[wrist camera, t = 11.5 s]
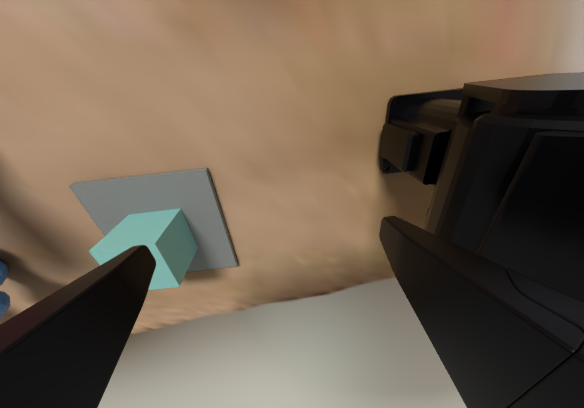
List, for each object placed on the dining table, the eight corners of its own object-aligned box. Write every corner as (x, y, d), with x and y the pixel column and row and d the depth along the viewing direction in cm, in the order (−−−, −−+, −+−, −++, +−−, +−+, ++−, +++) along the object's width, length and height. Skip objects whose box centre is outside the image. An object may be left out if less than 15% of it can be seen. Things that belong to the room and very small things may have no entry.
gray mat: (207, 167, 19) (205, 170, 18) (237, 262, 25) (237, 266, 24) (74, 182, 19) (68, 185, 18) (137, 273, 25) (134, 278, 24)
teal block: (180, 208, 20) (154, 243, 16) (197, 247, 23) (179, 286, 18) (128, 214, 20) (88, 251, 16) (151, 252, 23) (122, 293, 18)
